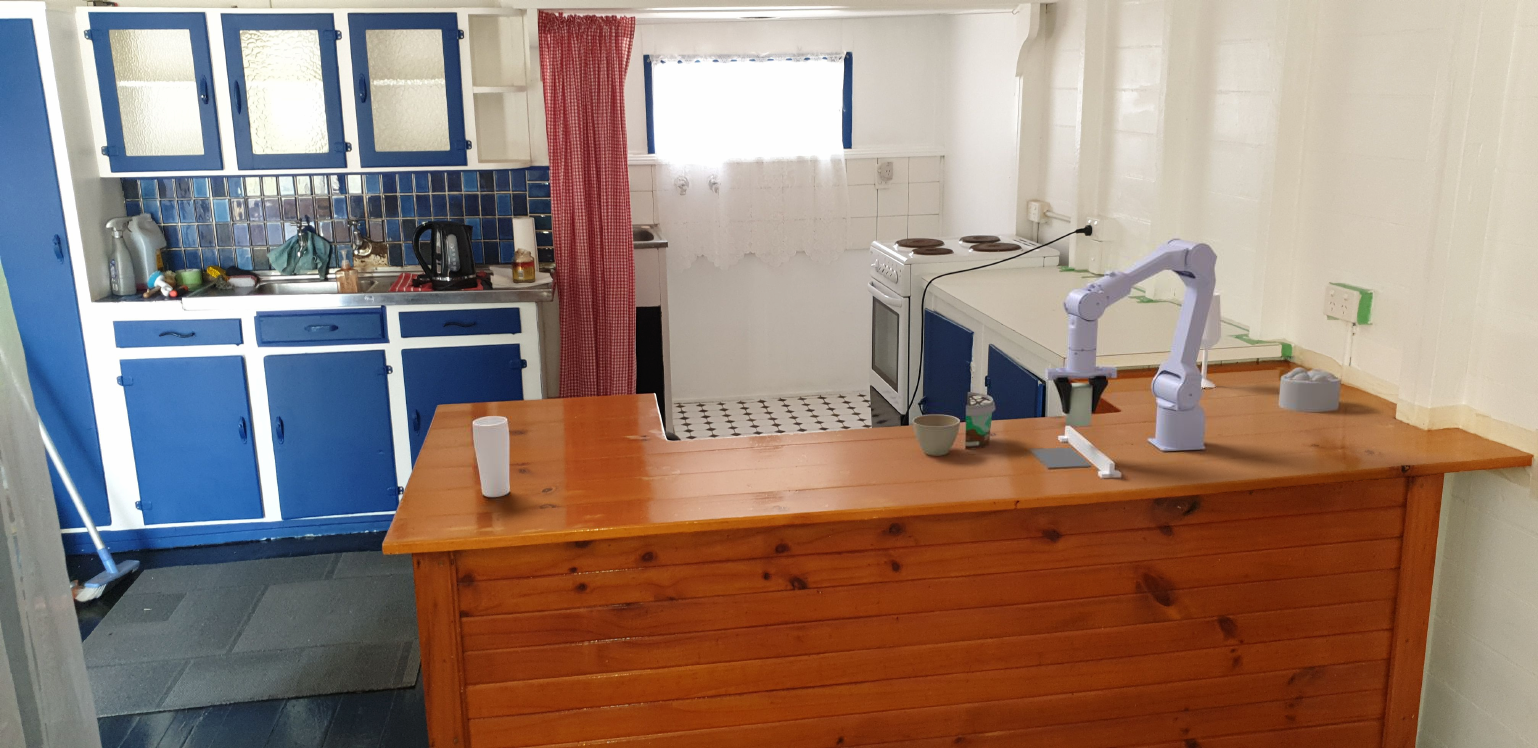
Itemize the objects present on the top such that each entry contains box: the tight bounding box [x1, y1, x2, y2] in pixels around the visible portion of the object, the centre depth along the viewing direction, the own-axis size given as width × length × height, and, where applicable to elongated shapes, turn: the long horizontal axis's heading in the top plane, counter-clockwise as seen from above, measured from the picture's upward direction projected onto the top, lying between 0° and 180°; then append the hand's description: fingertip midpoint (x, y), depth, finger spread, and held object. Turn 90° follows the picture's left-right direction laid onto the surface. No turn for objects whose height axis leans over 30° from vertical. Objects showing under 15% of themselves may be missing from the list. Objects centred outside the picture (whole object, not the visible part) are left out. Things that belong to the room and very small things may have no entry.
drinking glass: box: [472, 415, 511, 498], centre depth 219 cm, size 7×7×15 cm
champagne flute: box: [1200, 291, 1222, 388], centre depth 285 cm, size 7×7×24 cm
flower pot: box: [912, 414, 961, 457], centre depth 239 cm, size 10×10×7 cm
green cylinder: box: [1065, 382, 1093, 428], centre depth 231 cm, size 5×5×8 cm
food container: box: [964, 391, 996, 450], centre depth 244 cm, size 12×6×10 cm, turn 168°
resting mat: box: [1029, 447, 1092, 470], centre depth 234 cm, size 9×12×1 cm
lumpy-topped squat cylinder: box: [1278, 366, 1342, 413], centre depth 267 cm, size 10×13×9 cm
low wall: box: [1057, 425, 1122, 479], centre depth 234 cm, size 4×26×3 cm, turn 5°
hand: (1078, 412), depth 232 cm, fingers closed on green cylinder, 5 cm apart
